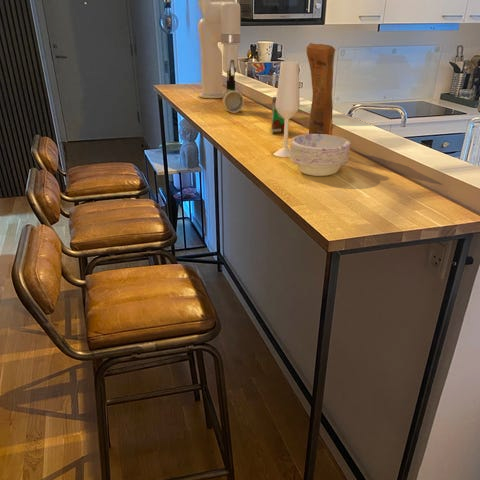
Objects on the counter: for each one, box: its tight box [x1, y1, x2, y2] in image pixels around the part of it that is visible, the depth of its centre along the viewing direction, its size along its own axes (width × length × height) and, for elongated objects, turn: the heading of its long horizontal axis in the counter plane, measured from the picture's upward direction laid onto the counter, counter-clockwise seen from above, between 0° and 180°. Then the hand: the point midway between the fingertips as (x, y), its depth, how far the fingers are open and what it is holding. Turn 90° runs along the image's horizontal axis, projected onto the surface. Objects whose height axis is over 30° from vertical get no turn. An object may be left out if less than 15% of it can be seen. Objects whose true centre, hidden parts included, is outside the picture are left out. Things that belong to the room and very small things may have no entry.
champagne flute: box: [273, 60, 301, 158], centre depth 140 cm, size 7×7×24 cm
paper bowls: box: [289, 133, 351, 177], centre depth 129 cm, size 15×15×8 cm
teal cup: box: [221, 88, 245, 114], centre depth 200 cm, size 8×8×6 cm
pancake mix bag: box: [306, 42, 336, 135], centre depth 144 cm, size 7×19×28 cm, turn 7°
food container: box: [271, 96, 285, 135], centre depth 169 cm, size 12×6×10 cm, turn 179°
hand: (230, 91), depth 204 cm, fingers closed
